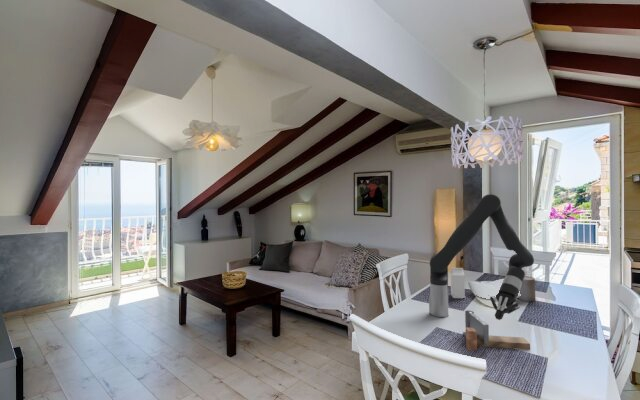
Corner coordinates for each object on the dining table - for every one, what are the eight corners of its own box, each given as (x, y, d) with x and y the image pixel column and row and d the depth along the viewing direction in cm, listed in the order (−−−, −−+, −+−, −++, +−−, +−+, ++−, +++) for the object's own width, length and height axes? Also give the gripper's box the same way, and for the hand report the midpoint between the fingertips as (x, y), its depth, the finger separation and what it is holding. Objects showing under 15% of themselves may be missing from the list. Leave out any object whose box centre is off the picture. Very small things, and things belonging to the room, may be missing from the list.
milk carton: (465, 298, 200) (464, 269, 200) (453, 298, 202) (452, 268, 202) (462, 295, 207) (461, 266, 207) (450, 295, 209) (450, 266, 209)
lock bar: (464, 332, 149) (463, 310, 149) (471, 331, 149) (471, 310, 149) (482, 349, 132) (482, 325, 132) (491, 349, 132) (490, 324, 132)
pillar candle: (532, 297, 201) (531, 274, 201) (537, 302, 192) (536, 277, 192) (515, 296, 204) (514, 273, 204) (519, 301, 195) (518, 276, 195)
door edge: (468, 350, 133) (468, 331, 133) (457, 331, 151) (457, 315, 151) (535, 354, 128) (535, 335, 128) (515, 335, 147) (515, 318, 147)
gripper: (493, 279, 153) (480, 309, 146) (523, 285, 142) (510, 318, 135) (498, 288, 156) (486, 318, 149) (528, 295, 145) (516, 328, 138)
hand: (497, 318), depth 142 cm, fingers closed
